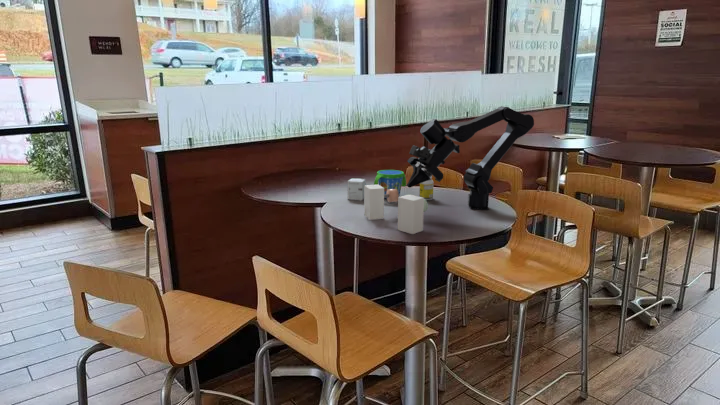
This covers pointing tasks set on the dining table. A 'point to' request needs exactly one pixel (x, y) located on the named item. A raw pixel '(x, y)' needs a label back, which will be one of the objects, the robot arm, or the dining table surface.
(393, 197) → the terracotta button
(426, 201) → the sage button
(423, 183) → the supplement bottle
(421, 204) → the sage button housing
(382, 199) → the white tall block
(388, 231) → the dining table surface
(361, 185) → the skincare box
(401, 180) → the snack cup
